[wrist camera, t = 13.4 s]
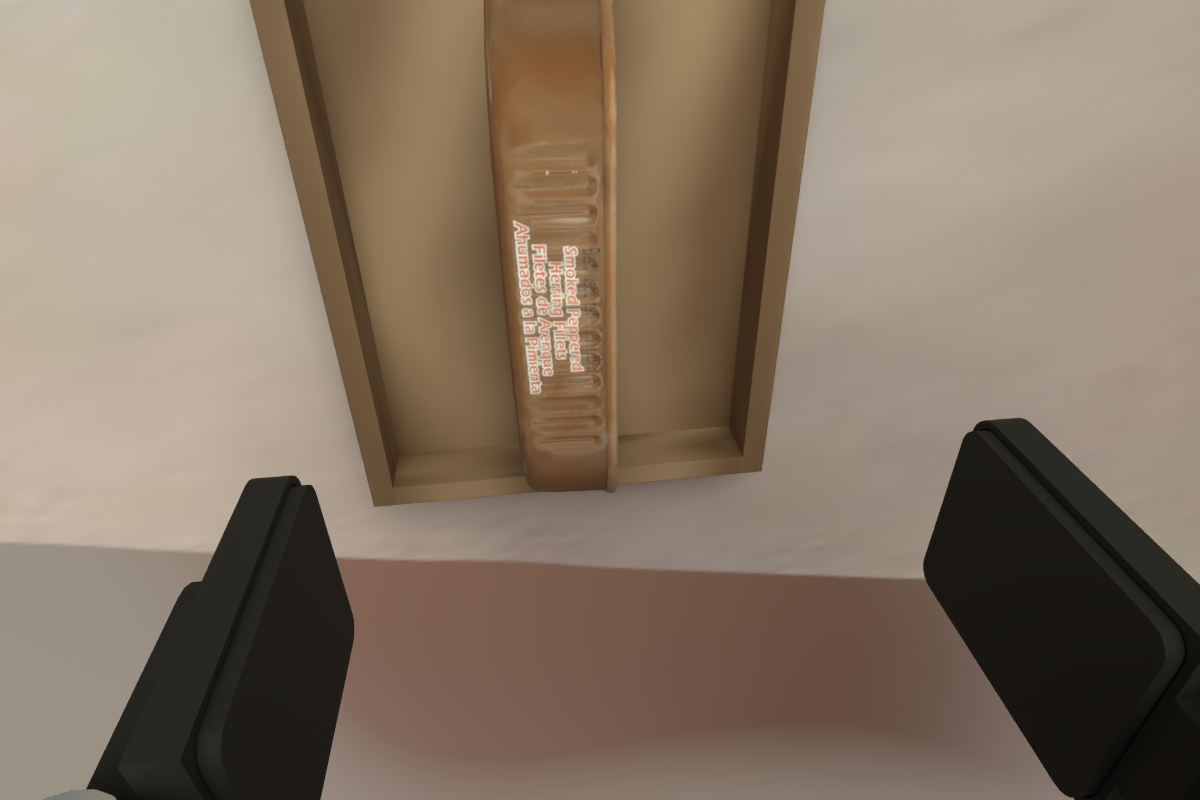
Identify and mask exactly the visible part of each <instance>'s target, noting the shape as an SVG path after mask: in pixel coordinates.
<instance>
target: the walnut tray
mask: <svg viewBox="0 0 1200 800" xmlns="http://www.w3.org/2000/svg"><path fill="white" fill-rule="evenodd" d="M250 4H251V8H252V12H253V16H254V20H255V24H256V28H257V33H258V37H259V41H260V45H261V49H262V53H263V57H264V61H265V65H266V69H267V73H268V77H269V81H270V85H271V89H272V93H273V98H274V102H275V106H276V110H277V114H278V118H279V122H280V126H281V130H282V134H283V138H284V142H285V146H286V150H287V154H288V158H289V163H290V167H291V171H292V175H293V179H294V183H295V187H296V191H297V195H298V199H299V203H300V207H301V211H302V215H303V219H304V223H305V228H306V232H307V236H308V240H309V244H310V248H311V252H312V256H313V260H314V264H315V268H316V272H317V276H318V280H319V284H320V288H321V293H322V297H323V301H324V305H325V309H326V313H327V317H328V321H329V325H330V329H331V333H332V337H333V341H334V345H335V349H336V353H337V358H338V362H339V366H340V370H341V374H342V378H343V382H344V386H345V390H346V394H347V398H348V402H349V406H350V410H351V414H352V418H353V423H354V427H355V431H356V435H357V439H358V443H359V447H360V451H361V455H362V459H363V463H364V467H365V471H366V475H367V479H368V483H369V488H370V492H371V496H372V500H373V504H374V507H377V506H388V505H399V504H410V503H421V502H431V501H442V500H453V499H464V498H475V497H486V496H497V495H508V494H518V493H529V492H540V491H536V490H533V489H532V488H531V487H529V485H528V483H527V481H526V478H525V475H524V470H523V465H522V459H521V452H520V445H519V437H518V428H517V418H516V409H515V401H514V393H513V385H512V375H511V366H510V357H509V347H508V337H507V328H506V318H505V308H504V298H503V287H502V276H501V263H500V254H499V242H498V230H497V219H496V210H495V197H494V186H493V175H492V164H491V150H490V134H489V122H488V107H487V92H486V72H485V55H484V0H250ZM824 6H825V0H613V19H614V45H615V59H616V97H617V170H618V185H617V197H618V201H617V240H618V253H617V281H618V317H617V325H618V330H617V332H618V465H617V470H618V471H617V483H616V484H627V483H638V482H649V481H660V480H671V479H682V478H693V477H703V476H714V475H725V474H736V473H747V472H758V471H762V463H763V456H764V449H765V441H766V434H767V426H768V419H769V412H770V404H771V397H772V390H773V382H774V375H775V367H776V360H777V353H778V345H779V338H780V331H781V323H782V316H783V308H784V301H785V294H786V286H787V279H788V272H789V264H790V257H791V249H792V242H793V235H794V227H795V220H796V213H797V205H798V198H799V190H800V183H801V176H802V168H803V161H804V154H805V146H806V139H807V131H808V124H809V117H810V109H811V102H812V95H813V87H814V80H815V72H816V65H817V58H818V50H819V43H820V36H821V28H822V21H823V13H824Z"/></svg>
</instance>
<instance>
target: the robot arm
mask: <svg viewBox="0 0 1200 800" xmlns="http://www.w3.org/2000/svg"><path fill="white" fill-rule="evenodd" d="M923 570H924V576H925V579H926V582H927V583H928V585H929V587H930V589H931V590H932V592H933V593H934V595H935V597H936V598H937V600H938V601H939V603H940V604H941V606H942V608H943V609H944V611H945V612H946V614H947V615H948V617H949V619H950V620H951V622H952V623H953V625H954V626H955V628H956V630H957V631H958V633H959V634H960V636H961V637H962V639H963V641H964V642H965V644H966V645H967V647H968V648H969V650H970V651H971V653H972V655H973V656H974V658H975V659H976V661H977V663H978V664H979V666H980V667H981V669H982V670H983V672H984V674H985V675H986V677H987V678H988V680H989V681H990V683H991V684H992V686H993V687H994V689H995V691H996V692H997V694H998V695H999V697H1000V699H1001V700H1002V702H1003V703H1004V705H1005V707H1006V708H1007V710H1008V711H1009V713H1010V714H1011V716H1012V717H1013V719H1014V721H1015V722H1016V724H1017V725H1018V727H1019V728H1020V730H1021V732H1022V733H1023V735H1024V736H1025V738H1026V739H1027V741H1028V743H1029V744H1030V746H1031V747H1032V749H1033V750H1034V752H1035V753H1036V755H1037V757H1038V758H1039V760H1040V761H1041V763H1042V764H1043V766H1044V768H1045V769H1046V771H1047V772H1048V774H1049V776H1050V777H1051V779H1052V780H1053V782H1054V783H1055V785H1056V786H1057V787H1058V789H1059V790H1060V791H1061V792H1062V793H1064V794H1065V795H1066V796H1068V797H1073V798H1074V799H1075V800H1200V585H1199V584H1198V583H1197V582H1196V581H1195V580H1194V579H1193V578H1192V577H1191V576H1190V575H1189V574H1188V573H1187V572H1186V571H1185V570H1184V569H1183V568H1182V567H1181V566H1180V565H1178V564H1177V563H1176V562H1175V561H1174V560H1173V559H1172V558H1171V557H1170V556H1169V555H1168V554H1167V553H1166V552H1165V551H1164V550H1163V549H1162V548H1161V547H1160V546H1159V545H1158V544H1157V543H1155V542H1154V541H1153V540H1152V539H1151V538H1150V537H1149V536H1148V535H1147V534H1146V533H1145V532H1144V531H1143V530H1142V529H1141V528H1140V527H1139V526H1138V525H1137V524H1136V523H1135V522H1134V521H1132V520H1131V519H1130V518H1129V517H1128V516H1127V515H1126V514H1125V513H1124V512H1123V511H1122V510H1121V509H1120V508H1119V507H1118V506H1117V505H1116V504H1115V503H1114V502H1113V501H1112V500H1111V499H1110V498H1108V497H1107V496H1106V495H1105V494H1104V493H1103V492H1102V491H1101V490H1100V489H1099V488H1098V487H1097V486H1096V485H1095V484H1094V483H1093V482H1092V481H1091V480H1090V479H1089V478H1088V477H1087V476H1085V475H1084V474H1083V473H1082V472H1081V471H1080V470H1079V469H1078V468H1077V467H1076V466H1075V465H1074V464H1073V463H1072V462H1071V461H1070V460H1069V459H1068V458H1067V457H1066V456H1065V455H1064V454H1062V453H1061V452H1060V451H1059V450H1058V449H1057V448H1056V447H1055V446H1054V445H1053V444H1052V443H1051V442H1050V441H1049V440H1048V439H1047V438H1046V437H1045V436H1044V435H1043V434H1042V433H1041V432H1039V431H1038V430H1037V429H1036V428H1035V427H1034V426H1033V425H1032V424H1031V423H1030V422H1028V421H1027V420H1025V419H1022V418H1012V419H999V420H986V421H982V422H979V423H978V424H977V425H976V426H975V428H974V430H973V431H972V432H969V433H967V434H966V435H965V437H964V439H963V441H962V444H961V447H960V450H959V454H958V457H957V460H956V463H955V466H954V469H953V472H952V475H951V478H950V481H949V484H948V487H947V491H946V494H945V497H944V500H943V503H942V506H941V509H940V512H939V515H938V518H937V521H936V524H935V527H934V531H933V534H932V537H931V540H930V543H929V546H928V549H927V552H926V555H925V558H924V563H923ZM353 640H354V619H353V615H352V611H351V607H350V604H349V601H348V597H347V594H346V591H345V587H344V584H343V581H342V578H341V574H340V571H339V568H338V565H337V561H336V558H335V554H334V551H333V548H332V545H331V541H330V538H329V535H328V531H327V528H326V525H325V521H324V518H323V515H322V512H321V508H320V505H319V502H318V498H317V495H316V492H315V490H314V488H313V486H312V485H302V486H301V483H300V481H299V479H298V478H297V477H296V476H281V477H268V478H256V479H251V480H249V481H248V483H247V484H246V486H245V488H244V490H243V492H242V494H241V496H240V499H239V501H238V503H237V505H236V507H235V509H234V512H233V514H232V516H231V518H230V520H229V523H228V525H227V527H226V529H225V531H224V534H223V536H222V538H221V540H220V542H219V545H218V547H217V549H216V551H215V553H214V556H213V558H212V560H211V562H210V564H209V566H208V569H207V571H206V573H205V575H204V577H203V580H202V581H200V582H191V583H190V584H189V585H188V586H186V587H185V588H184V590H183V591H182V593H181V595H180V596H179V597H178V599H177V601H176V603H175V605H174V607H173V610H172V612H171V614H170V616H169V618H168V620H167V622H166V624H165V626H164V628H163V630H162V633H161V635H160V637H159V639H158V641H157V643H156V645H155V647H154V649H153V651H152V653H151V655H150V657H149V660H148V662H147V664H146V666H145V668H144V670H143V672H142V674H141V676H140V678H139V681H138V683H137V684H136V687H135V689H134V691H133V693H132V695H131V697H130V699H129V701H128V703H127V705H126V707H125V709H124V712H123V714H122V716H121V718H120V720H119V722H118V724H117V727H116V728H115V730H114V732H113V734H112V737H111V739H110V741H109V743H108V745H107V747H106V749H105V751H104V753H103V755H102V757H101V759H100V762H99V764H98V766H97V768H96V770H95V772H94V774H93V776H92V778H91V780H90V782H89V785H88V787H87V789H86V790H71V791H68V792H65V793H61V794H58V795H55V796H51V797H48V798H46V799H44V800H320V798H321V794H322V789H323V785H324V780H325V775H326V770H327V765H328V761H329V756H330V751H331V746H332V741H333V736H334V732H335V727H336V722H337V718H338V712H339V708H340V703H341V698H342V694H343V689H344V684H345V679H346V674H347V669H348V664H349V660H350V655H351V650H352V646H353Z"/></svg>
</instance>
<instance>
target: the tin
mask: <svg viewBox="0 0 1200 800" xmlns="http://www.w3.org/2000/svg"><path fill="white" fill-rule="evenodd" d="M484 55H485V72H486V92H487V107H488V122H489V134H490V150H491V164H492V175H493V186H494V197H495V210H496V219H497V230H498V242H499V254H500V263H501V276H502V287H503V298H504V308H505V318H506V328H507V337H508V347H509V357H510V366H511V375H512V385H513V393H514V401H515V409H516V418H517V428H518V437H519V445H520V452H521V459H522V465H523V470H524V475H525V478H526V481H527V483H528V485H529V487H531V488H532V489H533V490H536V491H543V492H564V491H585V490H605V491H607V492H609V493H614V492H615V491H616V483H617V471H618V470H617V465H618V332H617V330H618V325H617V317H618V281H617V253H618V240H617V201H618V197H617V185H618V170H617V97H616V59H615V45H614V19H613V0H484Z"/></svg>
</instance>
